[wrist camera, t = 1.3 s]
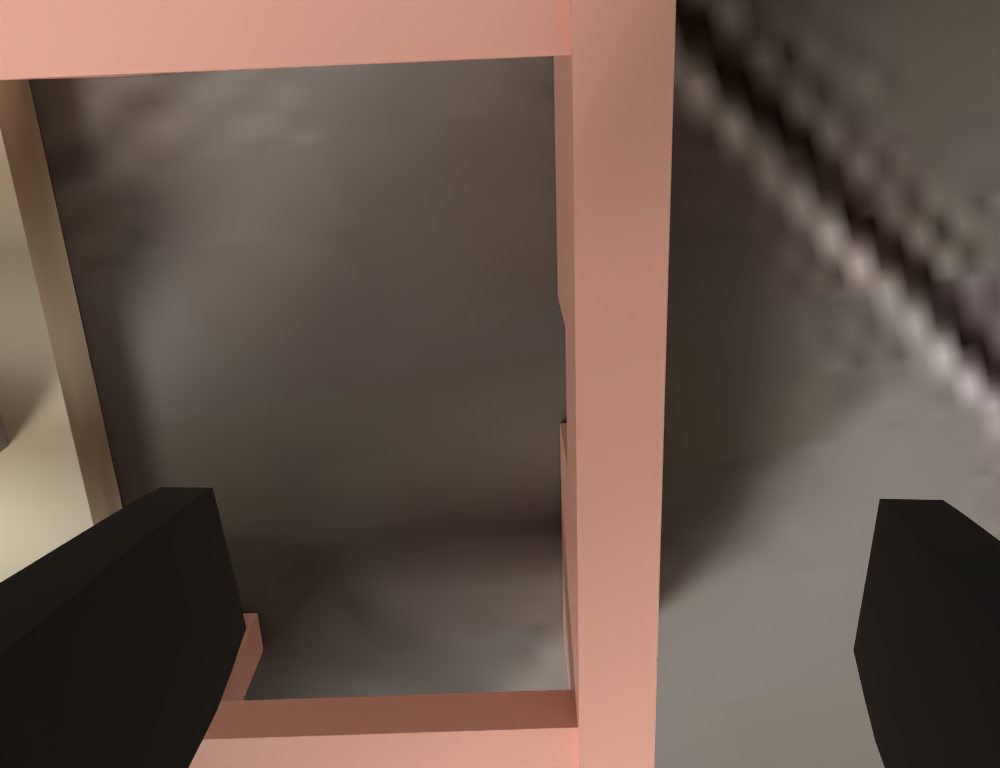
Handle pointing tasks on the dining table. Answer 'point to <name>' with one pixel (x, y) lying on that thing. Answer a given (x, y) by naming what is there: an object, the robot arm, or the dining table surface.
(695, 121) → the dining table surface
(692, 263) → the dining table surface
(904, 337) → the dining table surface
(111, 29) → the pink notched tray
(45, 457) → the display stand
